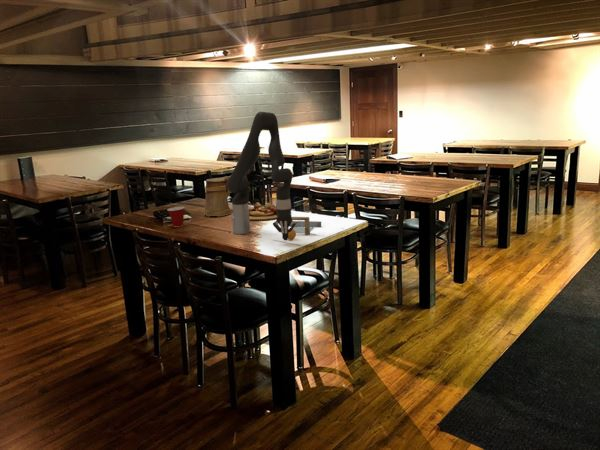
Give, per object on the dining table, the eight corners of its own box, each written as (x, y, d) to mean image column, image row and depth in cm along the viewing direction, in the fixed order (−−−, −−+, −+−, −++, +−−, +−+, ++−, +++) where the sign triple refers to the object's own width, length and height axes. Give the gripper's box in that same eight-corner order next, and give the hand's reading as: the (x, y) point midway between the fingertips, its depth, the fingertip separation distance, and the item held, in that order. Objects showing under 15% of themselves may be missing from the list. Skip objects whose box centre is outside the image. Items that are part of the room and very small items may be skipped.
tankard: (198, 216, 341) (194, 180, 335) (221, 209, 359) (218, 175, 354) (218, 218, 331) (214, 181, 325) (241, 211, 350) (238, 176, 344)
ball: (283, 240, 268) (283, 229, 267) (287, 237, 274) (286, 227, 273) (294, 241, 267) (294, 230, 265) (297, 238, 272) (297, 227, 271)
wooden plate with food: (241, 224, 313) (241, 211, 311) (234, 213, 343) (234, 202, 341) (291, 220, 321) (290, 207, 319) (280, 210, 351) (279, 198, 349)
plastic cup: (175, 224, 320) (173, 205, 318) (190, 224, 317) (188, 206, 314) (165, 228, 311) (163, 209, 308) (180, 228, 307) (178, 209, 304)
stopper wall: (288, 226, 299) (287, 221, 298) (289, 225, 301) (288, 220, 300) (320, 227, 294) (320, 222, 293) (321, 226, 296) (321, 221, 295)
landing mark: (286, 232, 285) (286, 232, 285) (293, 227, 297) (293, 227, 297) (308, 233, 281) (308, 233, 281) (314, 227, 293) (314, 227, 293)
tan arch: (308, 235, 277) (307, 218, 275) (282, 234, 281) (281, 217, 279) (310, 233, 280) (309, 217, 278) (284, 233, 284) (283, 216, 282)
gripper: (298, 206, 259) (299, 238, 263) (273, 205, 262) (275, 237, 266) (294, 209, 252) (295, 242, 256) (269, 208, 255) (271, 241, 259)
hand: (285, 239), depth 261 cm, fingers closed
